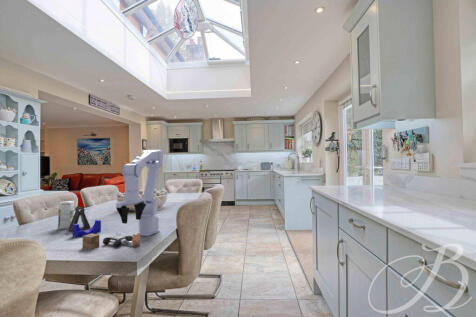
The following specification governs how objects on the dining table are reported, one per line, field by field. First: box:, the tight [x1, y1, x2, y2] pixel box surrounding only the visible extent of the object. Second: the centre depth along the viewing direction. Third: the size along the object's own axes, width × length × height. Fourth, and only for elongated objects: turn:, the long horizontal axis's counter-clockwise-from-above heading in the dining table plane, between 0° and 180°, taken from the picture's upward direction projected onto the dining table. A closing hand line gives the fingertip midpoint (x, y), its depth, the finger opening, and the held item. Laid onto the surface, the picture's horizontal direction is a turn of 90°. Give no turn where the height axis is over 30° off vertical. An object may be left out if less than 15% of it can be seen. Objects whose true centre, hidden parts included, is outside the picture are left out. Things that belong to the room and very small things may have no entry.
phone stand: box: [68, 206, 91, 233], centre depth 135 cm, size 9×6×12 cm, turn 137°
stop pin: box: [122, 232, 141, 248], centre depth 107 cm, size 3×8×5 cm, turn 66°
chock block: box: [82, 233, 100, 250], centre depth 106 cm, size 4×5×5 cm
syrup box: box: [57, 200, 75, 230], centre depth 138 cm, size 6×6×14 cm
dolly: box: [102, 233, 133, 248], centre depth 110 cm, size 9×8×3 cm
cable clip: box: [72, 219, 102, 239], centre depth 125 cm, size 12×4×6 cm, turn 146°
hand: (131, 221), depth 110 cm, fingers open, 7 cm apart
